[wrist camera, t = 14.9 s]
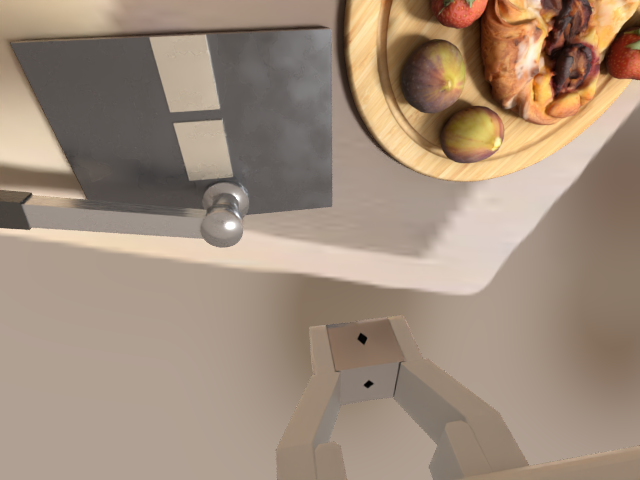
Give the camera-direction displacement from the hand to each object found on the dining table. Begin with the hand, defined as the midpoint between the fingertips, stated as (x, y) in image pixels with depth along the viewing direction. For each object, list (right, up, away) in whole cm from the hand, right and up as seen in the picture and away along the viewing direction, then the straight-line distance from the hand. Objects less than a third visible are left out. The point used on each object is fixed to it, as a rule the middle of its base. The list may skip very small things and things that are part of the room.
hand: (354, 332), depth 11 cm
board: (-13, +14, +24) cm, 31 cm away
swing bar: (-19, +6, +22) cm, 30 cm away
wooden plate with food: (+17, +24, +23) cm, 37 cm away
